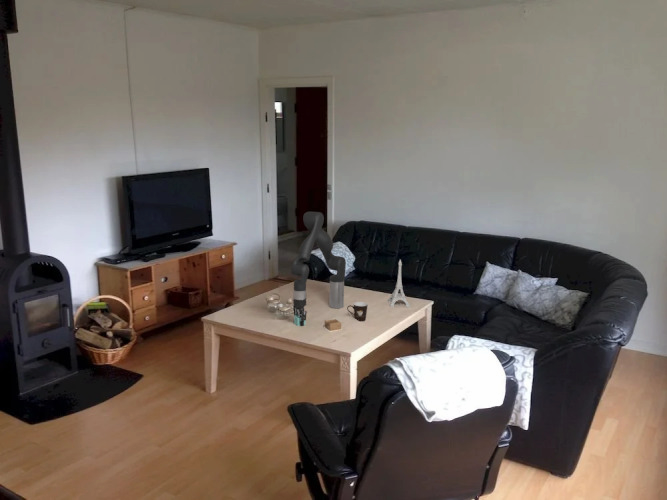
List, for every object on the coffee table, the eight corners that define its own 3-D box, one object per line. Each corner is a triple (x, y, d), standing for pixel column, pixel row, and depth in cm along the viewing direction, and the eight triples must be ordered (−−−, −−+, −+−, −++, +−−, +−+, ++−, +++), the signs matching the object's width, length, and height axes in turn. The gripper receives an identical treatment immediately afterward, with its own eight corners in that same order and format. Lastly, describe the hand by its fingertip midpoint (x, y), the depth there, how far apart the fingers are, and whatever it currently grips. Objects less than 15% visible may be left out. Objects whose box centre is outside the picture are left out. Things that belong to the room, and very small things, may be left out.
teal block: (294, 325, 352) (294, 315, 351) (301, 324, 355) (301, 314, 353) (297, 328, 348) (297, 318, 347) (305, 326, 350) (305, 317, 349)
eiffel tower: (386, 300, 403) (388, 257, 396) (406, 300, 404) (408, 257, 397) (390, 307, 390) (391, 262, 383) (410, 306, 391) (412, 262, 384)
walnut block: (324, 327, 346) (324, 320, 345) (335, 325, 349) (335, 319, 348) (330, 331, 340) (330, 324, 339) (341, 329, 343) (341, 322, 342)
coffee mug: (369, 319, 365) (370, 303, 363) (363, 323, 358) (363, 307, 356) (353, 315, 371) (353, 300, 369) (346, 319, 364) (346, 303, 362)
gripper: (288, 294, 352) (288, 322, 356) (299, 301, 340) (298, 329, 343) (300, 293, 355) (300, 320, 359) (311, 299, 343) (310, 327, 347)
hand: (299, 324), depth 351 cm, fingers open, 5 cm apart
